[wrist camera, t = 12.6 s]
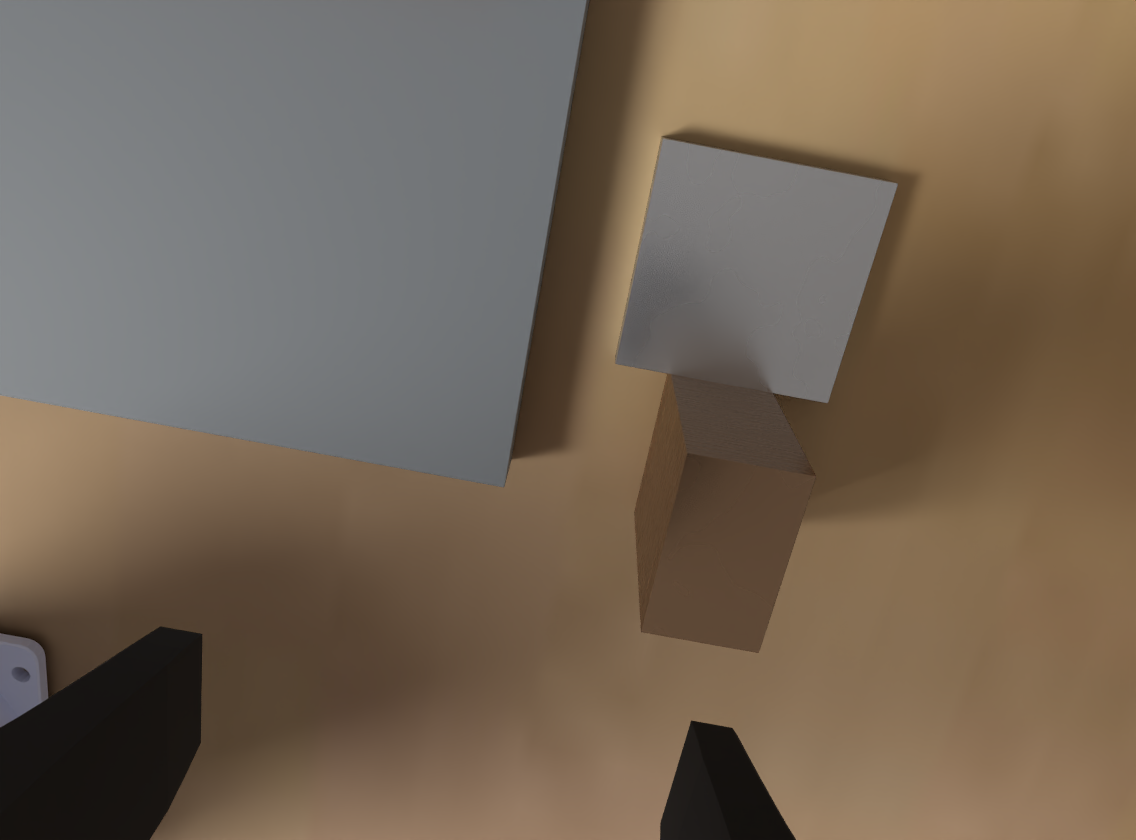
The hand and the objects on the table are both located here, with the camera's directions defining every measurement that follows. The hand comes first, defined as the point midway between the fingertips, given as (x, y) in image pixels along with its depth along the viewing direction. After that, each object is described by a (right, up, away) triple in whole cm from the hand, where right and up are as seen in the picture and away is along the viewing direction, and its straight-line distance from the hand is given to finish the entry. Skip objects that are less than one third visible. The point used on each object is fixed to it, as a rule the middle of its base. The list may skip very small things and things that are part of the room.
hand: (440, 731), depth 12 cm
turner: (+5, +6, +8) cm, 11 cm away
